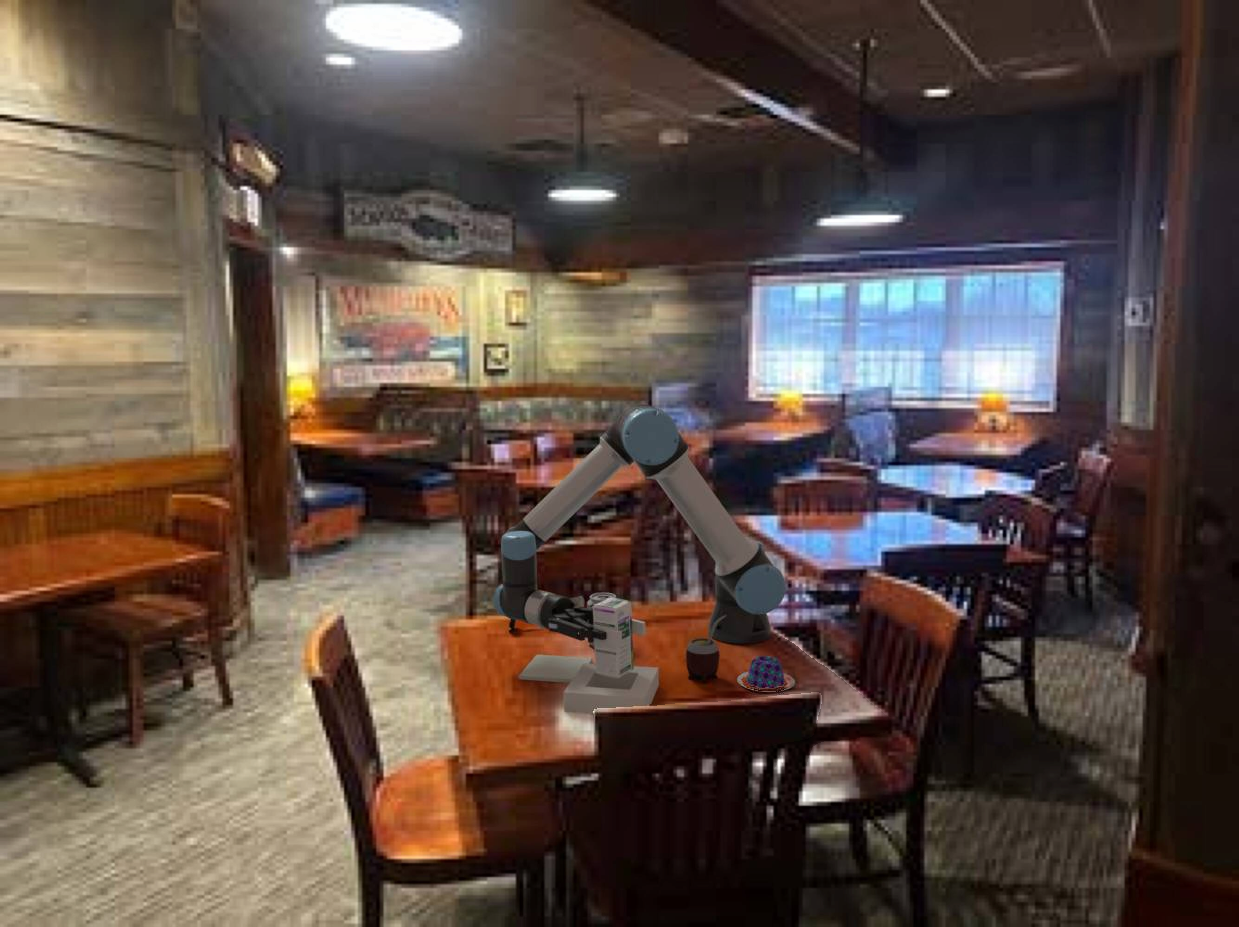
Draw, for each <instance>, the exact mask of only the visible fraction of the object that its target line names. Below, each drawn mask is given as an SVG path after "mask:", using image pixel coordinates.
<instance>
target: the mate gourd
mask: <svg viewBox="0 0 1239 927" xmlns="http://www.w3.org/2000/svg"><path fill="white" fill-rule="evenodd" d="M726 616H727V615H725V616H723V617H721V618H719V619H718V620H717V621H715V622H714V624H713V626H712V627H713V628H712V630H711V633H710V635H709V636H708V638H705V637H704V638H703V637H701V638H699V637H698V638H694V639H692V640H691V641H690V642H689V643H688V645H687V647H686V651H685V663H686V669H687V672H688V676H687V678H688V680H701V682H702V683H703V684H704V685H705V684H708V681H707V679H709V678H712V679H717V678H718V675H717V673H718V669H719V664H720V657H721V656H720V651H719V647H718V645H717V643H716V642H715V640H713V638H712V635H713V632H714V630H715V628H716V626H717V623H718V622H719V621H720V620H722V619H723V618H724V617H726Z"/></svg>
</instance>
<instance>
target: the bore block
mask: <svg viewBox="0 0 1239 927" xmlns="http://www.w3.org/2000/svg"><path fill="white" fill-rule="evenodd" d="M658 689H659V667H650V666H636V665H634V669H633V670H631V671H629V672H628V673H626V674H625V675H623V676H621V677H620V678H619V679H618V678H613V677H608V676H604V675H600V674H597V673H596V669H595V663H593V662H592V663H583V665H582V666H581V668H580V669H579V671H578V672H577V674H576V675H575V677H574V678H573V679H572V681H571V682H570V683H569V684H568V685H567V687H566V688H565V690H563V712H564V713H574V714H589V715H594V714H593V711H594V709H597V708H616V707H633V706H647V705H650V704H651V705H652V702H653V700H654V698H655V697H656V696H655V695H656V694H657V691H658ZM651 705H650V706H651Z"/></svg>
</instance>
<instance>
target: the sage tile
mask: <svg viewBox="0 0 1239 927" xmlns="http://www.w3.org/2000/svg"><path fill="white" fill-rule="evenodd" d="M583 663H593V657H583V656H581V657H580V656H567V655H566V656H565V655H552V654H551V655H549V654H536V655H535V656H534V657H533V658H532V660H531V661H529V663H528V664H527V666H526V667H525V668H524V669H523V670H522V671H521V672H520V673H519V675H518V680H524V681H525V680H526V681H539V682H555V683H566V684H568V683H569V684H570V682H571V681H572V679H573V678H574V677H575V675H576V674H577V672H578V671H579V669H580V668H581V666H582V665H583Z"/></svg>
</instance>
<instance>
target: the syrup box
mask: <svg viewBox="0 0 1239 927" xmlns="http://www.w3.org/2000/svg"><path fill="white" fill-rule="evenodd" d="M632 608H633V607H632V602H631V601H630V600H627V599H622V598H617V597H616V598H608V599H607V600H604V601H602V602H600V603H598V604H595V605H594V606H593V621H594V629H595V625H600V626H604V627H607V628H611V629H615V630H618V631H622V645H620V646H618V645H615V644H611V643H608V642H604V641H601V640H597V639H595V638H594V645H595V647H594V662H595V663H594V664H595V669H596V673H597V674H600V675H604V676H608V677H613V678H618V679H619V678H620V677H621V676H623V675H625V674H626V673H628V672H629V671H631V670H633V669H634V666H635V664H634V645H633V644H634V638H633V633H632V619H633V615H632V614H633V613H632V612H633V610H632Z"/></svg>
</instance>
